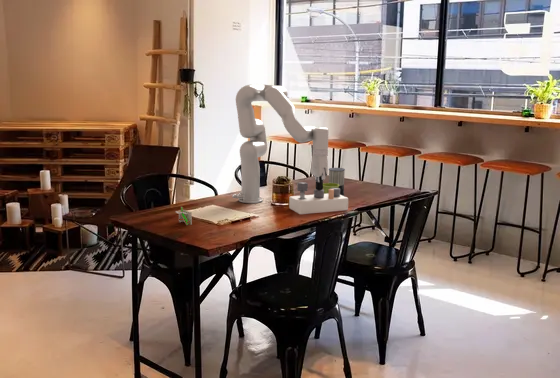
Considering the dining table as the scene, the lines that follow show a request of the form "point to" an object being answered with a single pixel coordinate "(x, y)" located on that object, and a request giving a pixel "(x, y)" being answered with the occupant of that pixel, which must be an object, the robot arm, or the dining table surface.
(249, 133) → the robot arm
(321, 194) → the knob mid
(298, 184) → the knob near
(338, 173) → the milk frother
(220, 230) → the dining table surface
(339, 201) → the white rectangular block
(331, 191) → the dial post
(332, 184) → the plant pot
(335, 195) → the knob far
